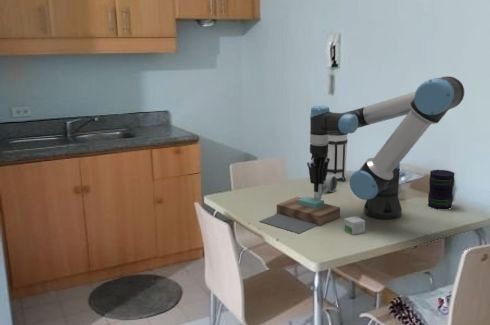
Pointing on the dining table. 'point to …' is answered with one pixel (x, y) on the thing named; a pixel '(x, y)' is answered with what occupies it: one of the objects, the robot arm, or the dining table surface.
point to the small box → (354, 225)
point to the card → (311, 202)
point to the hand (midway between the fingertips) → (317, 198)
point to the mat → (288, 223)
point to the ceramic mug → (329, 184)
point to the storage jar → (441, 189)
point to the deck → (308, 211)
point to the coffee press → (337, 155)
